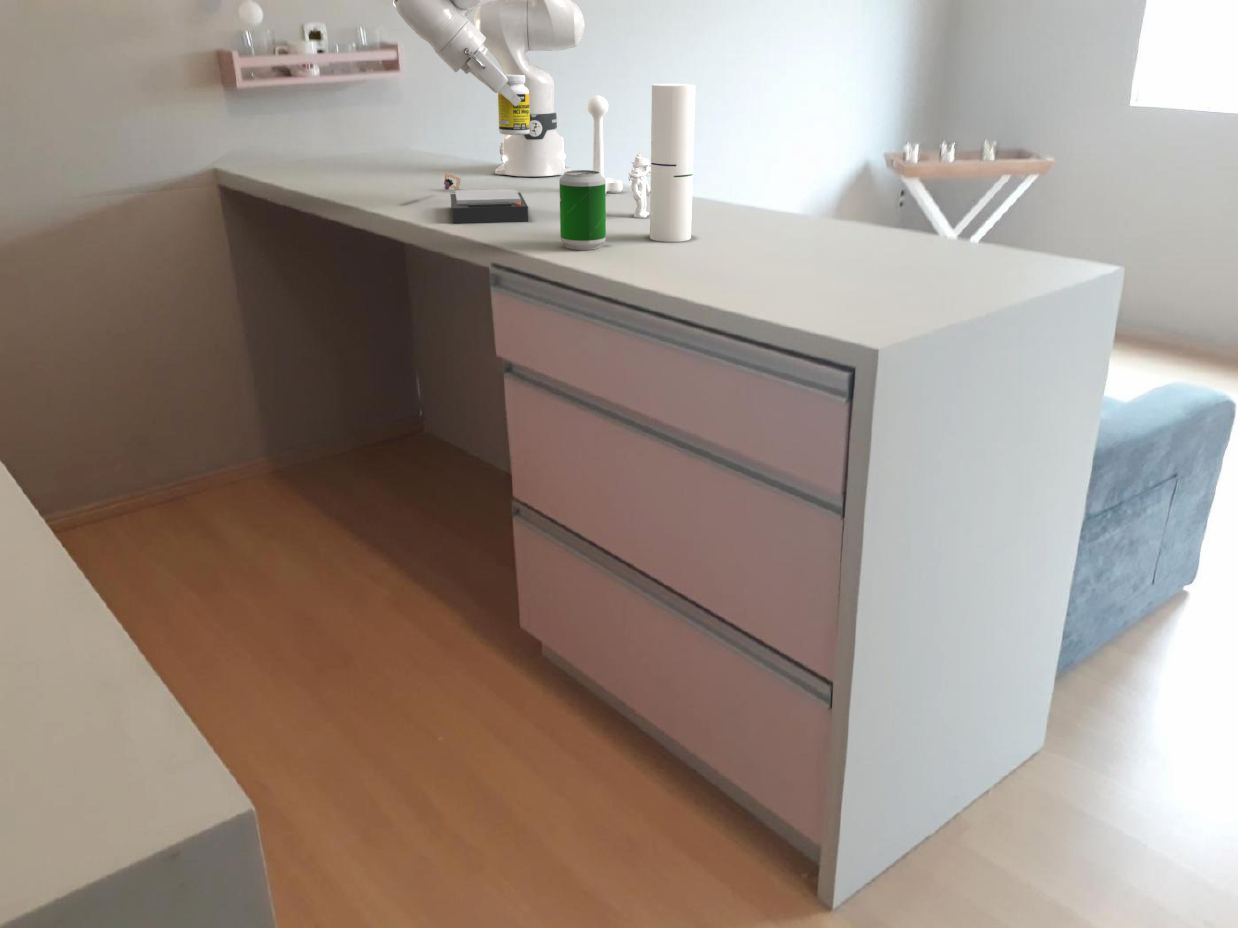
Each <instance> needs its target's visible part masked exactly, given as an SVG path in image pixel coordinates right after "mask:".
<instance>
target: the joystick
mask: <svg viewBox="0 0 1238 928" xmlns="http://www.w3.org/2000/svg"><path fill="white" fill-rule="evenodd" d="M587 111H588V113H589V115H591V117H592V120H593V133H592V134H593V135H592V136H593V137H592V139H593V141H592V143H593V144H592V171H598V172H600V173H601V175H602V176H603V177H604V178H605V180H606V193H608V194H619V193H621V192H622V191H623V189H624V188H623V185H624V184H623V183H624V182H623V180H618V179H613V177H605V163H604V162H605V161H604V159H605V158H604V157H605V156H604V126H603V125H604V124H603V123H604V122H603V121H604V118H605V115H606V114H607V113H608V111H609V102H608V100H607V99H606V98H605V96H602V95H597V94H596V95H594V96H592V97H590V99H589V100H588V102H587Z"/></svg>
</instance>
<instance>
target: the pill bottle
mask: <svg viewBox="0 0 1238 928" xmlns="http://www.w3.org/2000/svg"><path fill="white" fill-rule="evenodd" d="M505 76H506V77H507V78H508V82H507V84H508V85H509V86H510V88H511V89H512V90H513V91H514V93H515V94H516V95H517V96H518V97H519V98H520V99H521V102H520V103H519V104H518V105H517V106H514V105H513V104H512V103H511V102H510V101H509V100H508V99H507V98H505V97H504V96H503V95H502V94H501V93H500V92H498V93H497V104H498V105H497V106H498V109H497V111H498V131H499V134H501V135H504V136H505V135H526V134H529V133H530V104H529V90H528V89H527V88H526V87H525V86H524V83H525V75H505Z"/></svg>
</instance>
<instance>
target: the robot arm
mask: <svg viewBox="0 0 1238 928" xmlns="http://www.w3.org/2000/svg"><path fill="white" fill-rule="evenodd" d="M392 5H393V6H394V8H395V10H396V11H397V13H398V14H399V16H400V17H401V18H402V19H403V21H404V22H405V23H406V24H407V26H408V27H409V28H410V29H411V30H412V31H413V32H414V33H415V34H416V35H417V36H418V37H419V38H420V39H422V40H424V41H426V42H427V43H428V44H429V45H430V46H431V47H432V49H433V50H434V52H435V54H437V56H438V57H439V58H440V59H441V60H443V62H444V63H445V64H446V65H447V66H448V67H449V68H450V69H451V70H452V71H453V72H454V73H457V72H459V71H460V70H462V72H463V73H464V74H465V75H468V74H469V73H470V74H471V75H472V76H474V77H475V78H476V79H477V80H479V81H480V82H481V83H482V84H483V85H485V86H486V87H488V88H489V89H490V90H491V91H492V92H494V93H495V94H498V92H500V93H501V94H502V95H503V96H504V97H505V98H507V99H508V100H509V101H510V102H511V103H512V104H513V105H514V106H517V105H518V104H519V103H520V102H521V99H520V98H519V97H518V96H517V95H516V94H515V93H514V91H513V90H512V89H511V88H510V86H509V85H508V84H507V82H508V78H507V77H506V76H505V75H525V83H524V86H525V87H526V88H527V89H528V90H529V104H530V133H529V134H526V135H505V134H504V136H503V138H502V139H501V141H502V142H500V145H499V154H500V155H501V156H500V160H501V162H502V163H500V164H499V166H498V167H496V168H495V170H494V175H504V176H505V175H506V176H511V177H512V176H513V177H551V176H559V175H564V172H566V171H572V170H573V169H572V168H571V167H569V166H566V165H565V159H566V154H565V148H564V147H565V146H564V137H563V136H561V134H559V132H558V131H557V128H558V118H557V117H558V116H557V113H556V112H555V109H556V108H555V82H554V81H555V80H554V79H553V77H552V75H551V74H550V73H549V72H548V71H547V70H545V69H543V68H541V67H540V66H538V65H536V64H533V63H532V62H530V60H529V58H528V52H531V51H532V52H533V51H534V52H535V51H536V52H539V51H540V52H541V51H542V52H544V51H545V52H550V51H551V52H556V51H557V52H559V51H563V50H568V49H569V50H570V49H573V48H576V47H577V46H578V45H579V44H580V43H581V41H582V39H583V37H584V34H585V30H586V29H585V28H586V23H585V16H584V14H583V12H582V10H581V8H580V7H579V6H578V4H576V3H575V2H574V1H572V0H491V1H488V2H483V0H392ZM477 7H478V8H477ZM476 8H477V9H476ZM475 9H476V11H475V13H474V16H473V22H472V21H471V20H469V19H468V18H467V16H470V14H471V13H472V12H473V11H474V10H475ZM488 52H489V53H491V55H492V56H493V57H494V58H495V59H496V60H497V62H498V64H499V66H500V67H501V69H500V68H499V67H498V66H497V65H496V64H494V62H493V61H492V60H491V59H490V57H489V56H488V54H487V53H488Z"/></svg>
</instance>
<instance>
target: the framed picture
mask: <svg viewBox="0 0 1238 928" xmlns="http://www.w3.org/2000/svg"><path fill="white" fill-rule="evenodd" d="M452 179H453V180H456V184H455V185H454V182H453V180H452ZM460 185H461V178H460V177H458V176H454V175H452V174H449V173H447V172H446V173H445V176H444V182H443V186H444V187H443V189H444V190H446V191H448V190H450V188H452V189H455V190H456V191H457V190H460Z"/></svg>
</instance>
